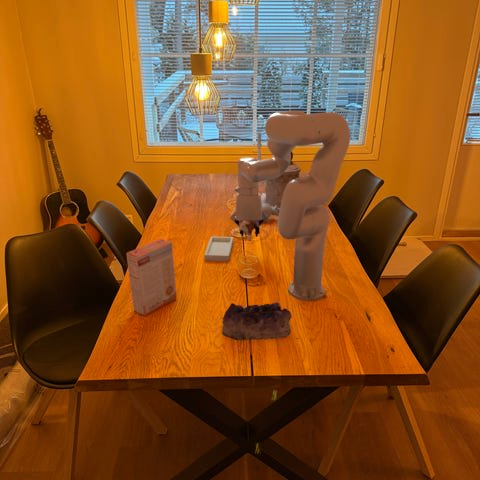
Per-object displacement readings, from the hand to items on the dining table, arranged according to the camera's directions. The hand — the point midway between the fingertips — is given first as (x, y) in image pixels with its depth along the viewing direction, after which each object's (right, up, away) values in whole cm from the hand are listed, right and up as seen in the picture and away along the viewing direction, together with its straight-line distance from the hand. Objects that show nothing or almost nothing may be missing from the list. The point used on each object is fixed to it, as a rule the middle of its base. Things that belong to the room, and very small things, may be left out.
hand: (249, 235), depth 173 cm
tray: (-12, -7, +9) cm, 17 cm away
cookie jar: (+19, +17, +65) cm, 70 cm away
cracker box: (-32, -23, -29) cm, 49 cm away
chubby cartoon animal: (+11, +7, +42) cm, 44 cm away
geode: (+1, -29, -43) cm, 52 cm away
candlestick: (+8, +36, +109) cm, 115 cm away
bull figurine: (0, -1, 0) cm, 1 cm away
